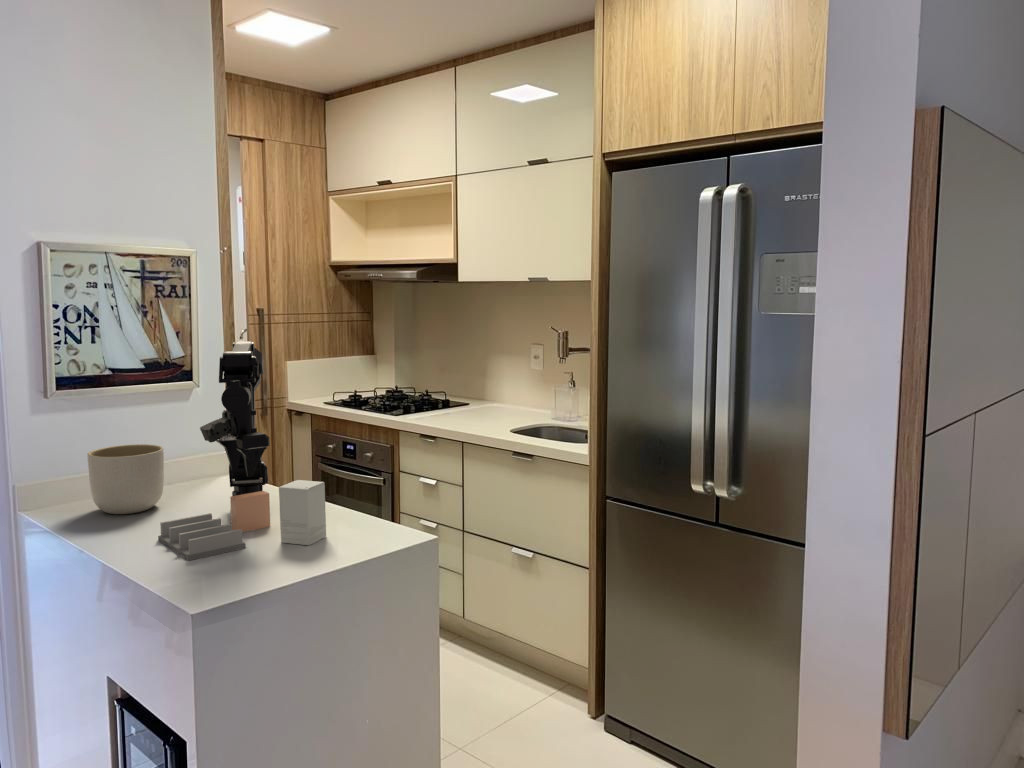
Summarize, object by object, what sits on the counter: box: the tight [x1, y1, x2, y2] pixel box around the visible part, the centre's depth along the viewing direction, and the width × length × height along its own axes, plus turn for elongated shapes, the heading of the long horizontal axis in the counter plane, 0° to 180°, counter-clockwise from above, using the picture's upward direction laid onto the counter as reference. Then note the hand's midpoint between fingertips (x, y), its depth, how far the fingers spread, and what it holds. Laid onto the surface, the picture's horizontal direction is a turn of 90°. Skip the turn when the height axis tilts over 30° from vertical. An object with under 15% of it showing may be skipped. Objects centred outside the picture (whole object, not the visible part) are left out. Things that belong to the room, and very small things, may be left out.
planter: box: [87, 443, 165, 515], centre depth 191 cm, size 17×17×15 cm
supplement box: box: [278, 479, 327, 546], centre depth 168 cm, size 7×7×13 cm
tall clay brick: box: [230, 490, 271, 533], centre depth 176 cm, size 8×3×8 cm, turn 133°
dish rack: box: [157, 513, 246, 561], centre depth 165 cm, size 12×18×4 cm, turn 43°
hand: (241, 473), depth 175 cm, fingers open, 9 cm apart
